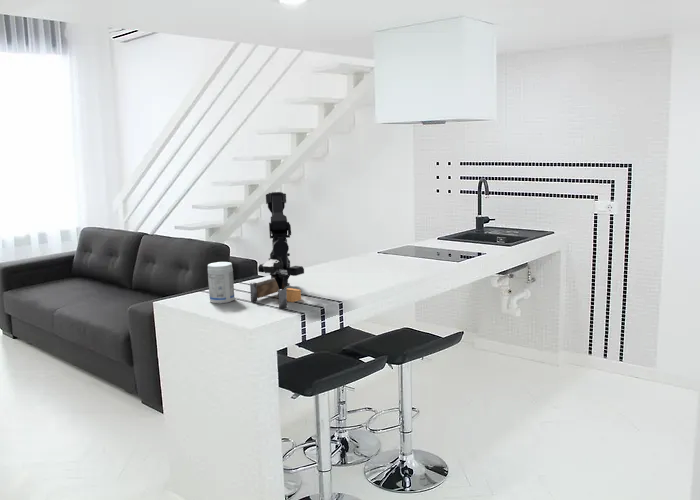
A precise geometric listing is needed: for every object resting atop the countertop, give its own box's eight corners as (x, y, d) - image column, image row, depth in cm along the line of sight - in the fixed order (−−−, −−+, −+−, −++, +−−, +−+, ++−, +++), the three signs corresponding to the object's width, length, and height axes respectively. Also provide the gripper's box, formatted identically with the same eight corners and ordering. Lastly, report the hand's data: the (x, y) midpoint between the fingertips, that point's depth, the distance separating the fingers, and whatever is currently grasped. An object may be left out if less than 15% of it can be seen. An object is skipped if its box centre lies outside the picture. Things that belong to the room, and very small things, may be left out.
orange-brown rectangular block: (281, 300, 254) (280, 290, 254) (289, 297, 258) (289, 288, 258) (292, 302, 251) (291, 292, 250) (301, 299, 255) (300, 289, 254)
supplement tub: (225, 296, 262) (223, 260, 259) (239, 300, 255) (237, 263, 253) (204, 301, 255) (202, 264, 252) (219, 305, 248) (216, 267, 246)
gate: (258, 299, 254) (257, 283, 253) (255, 299, 255) (255, 282, 253) (282, 291, 266) (281, 276, 265) (279, 291, 267) (279, 275, 266)
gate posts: (249, 301, 253) (248, 283, 251) (255, 300, 255) (254, 282, 254) (282, 309, 240) (282, 290, 239) (288, 307, 242) (288, 288, 241)
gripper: (247, 252, 252) (249, 292, 254) (286, 256, 242) (287, 297, 244) (266, 248, 261) (268, 286, 264) (304, 251, 251) (305, 291, 254)
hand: (281, 290), depth 256 cm, fingers closed
